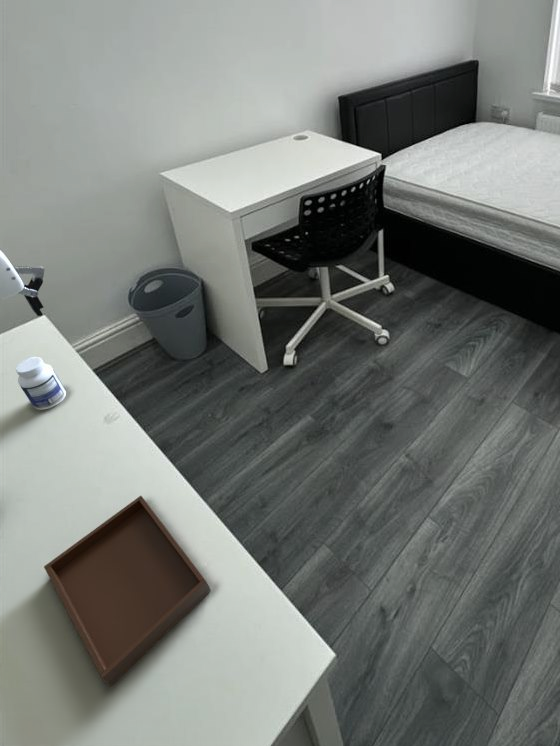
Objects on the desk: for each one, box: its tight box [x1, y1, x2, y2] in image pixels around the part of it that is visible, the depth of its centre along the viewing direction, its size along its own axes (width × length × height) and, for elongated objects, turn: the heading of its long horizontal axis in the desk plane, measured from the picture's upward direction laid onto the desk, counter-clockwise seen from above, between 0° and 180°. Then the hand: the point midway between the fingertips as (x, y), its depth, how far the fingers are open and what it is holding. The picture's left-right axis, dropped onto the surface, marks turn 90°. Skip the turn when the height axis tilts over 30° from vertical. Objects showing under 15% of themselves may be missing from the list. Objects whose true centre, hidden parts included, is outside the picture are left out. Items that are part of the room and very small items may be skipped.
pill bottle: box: [15, 356, 67, 411], centre depth 91 cm, size 5×5×10 cm
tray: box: [43, 495, 212, 687], centre depth 66 cm, size 19×13×3 cm
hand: (6, 326), depth 83 cm, fingers open, 9 cm apart
